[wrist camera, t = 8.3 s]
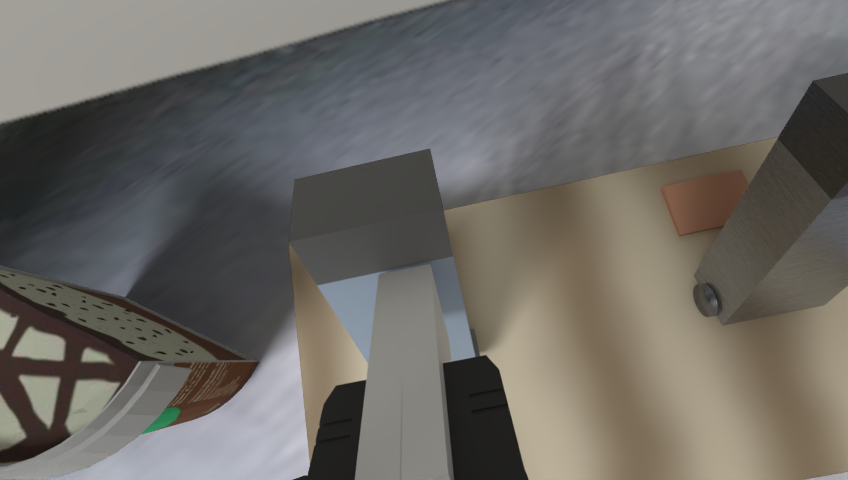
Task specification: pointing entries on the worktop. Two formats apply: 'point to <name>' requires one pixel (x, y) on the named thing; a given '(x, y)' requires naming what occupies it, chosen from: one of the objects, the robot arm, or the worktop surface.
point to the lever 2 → (787, 220)
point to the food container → (96, 374)
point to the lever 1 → (377, 240)
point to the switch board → (625, 334)
